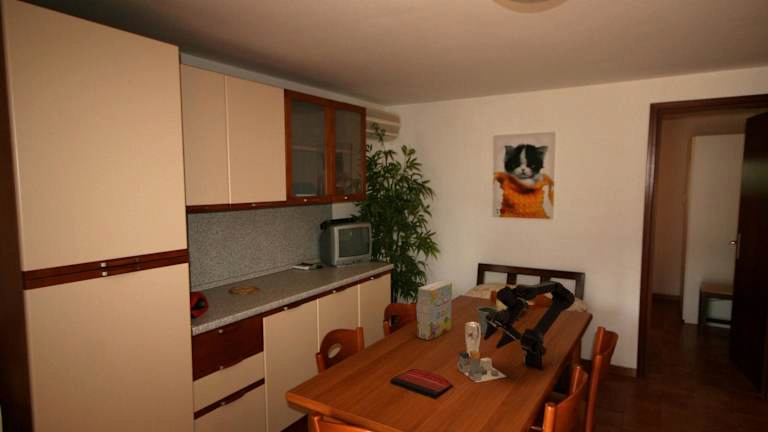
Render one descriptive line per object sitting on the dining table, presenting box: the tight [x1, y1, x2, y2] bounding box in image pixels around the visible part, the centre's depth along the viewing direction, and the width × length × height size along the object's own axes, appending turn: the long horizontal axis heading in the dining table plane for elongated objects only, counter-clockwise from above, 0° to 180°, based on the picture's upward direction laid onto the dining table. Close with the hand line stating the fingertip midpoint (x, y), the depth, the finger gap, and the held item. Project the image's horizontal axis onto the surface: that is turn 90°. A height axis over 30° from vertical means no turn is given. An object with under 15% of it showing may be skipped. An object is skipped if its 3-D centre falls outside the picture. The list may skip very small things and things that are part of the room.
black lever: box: [458, 350, 470, 367], centre depth 179 cm, size 2×3×7 cm
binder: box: [390, 368, 454, 400], centre depth 170 cm, size 16×2×21 cm
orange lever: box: [469, 350, 481, 376], centre depth 172 cm, size 2×3×10 cm
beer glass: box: [464, 321, 482, 358], centre depth 195 cm, size 7×7×15 cm
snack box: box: [416, 280, 453, 341], centre depth 225 cm, size 22×9×26 cm, turn 143°
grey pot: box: [477, 306, 497, 335], centre depth 228 cm, size 10×10×12 cm
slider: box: [479, 357, 493, 370], centre depth 180 cm, size 4×2×4 cm, turn 111°
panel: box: [457, 361, 507, 383], centre depth 177 cm, size 14×14×4 cm
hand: (490, 343), depth 176 cm, fingers open, 9 cm apart
